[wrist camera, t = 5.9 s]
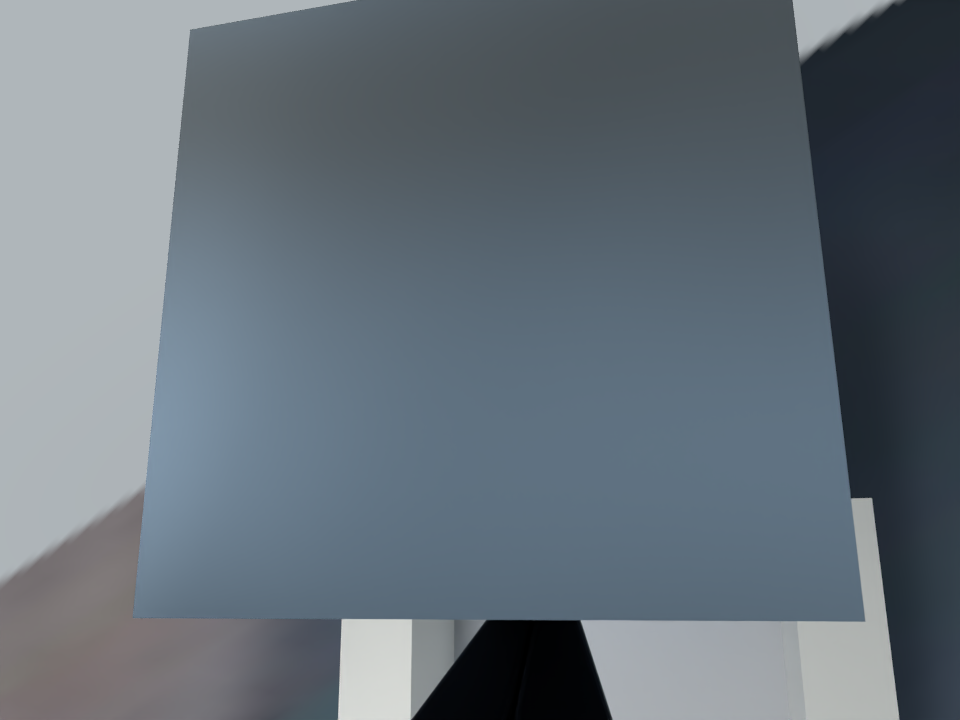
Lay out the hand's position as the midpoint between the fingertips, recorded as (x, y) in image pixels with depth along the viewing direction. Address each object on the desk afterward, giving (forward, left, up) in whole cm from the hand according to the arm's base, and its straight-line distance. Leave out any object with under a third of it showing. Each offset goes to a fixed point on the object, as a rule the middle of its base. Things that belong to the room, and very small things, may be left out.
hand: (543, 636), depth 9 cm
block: (+2, -2, -8) cm, 8 cm away
